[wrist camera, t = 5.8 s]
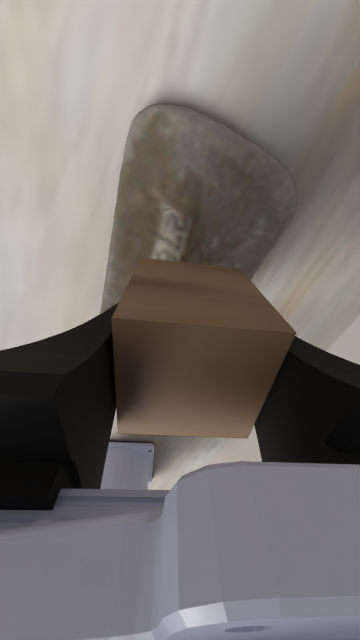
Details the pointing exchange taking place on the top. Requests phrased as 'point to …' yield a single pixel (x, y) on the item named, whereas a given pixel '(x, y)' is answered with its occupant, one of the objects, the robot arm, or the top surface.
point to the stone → (194, 197)
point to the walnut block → (194, 350)
